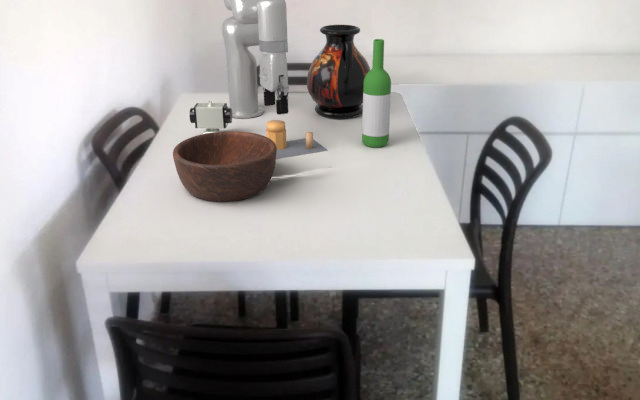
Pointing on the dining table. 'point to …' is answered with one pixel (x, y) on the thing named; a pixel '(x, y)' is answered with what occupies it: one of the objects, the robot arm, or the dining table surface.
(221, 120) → the pneumatic valve
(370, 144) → the wine bottle
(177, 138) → the dining table surface
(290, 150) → the board
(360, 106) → the black vase
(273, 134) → the orange dome-topped faceted piece
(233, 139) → the wooden bowl
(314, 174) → the dining table surface
